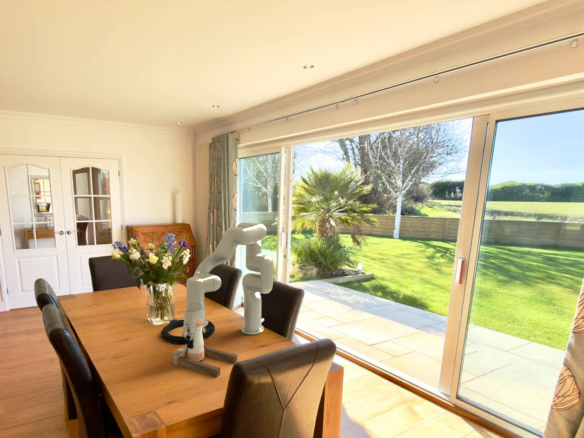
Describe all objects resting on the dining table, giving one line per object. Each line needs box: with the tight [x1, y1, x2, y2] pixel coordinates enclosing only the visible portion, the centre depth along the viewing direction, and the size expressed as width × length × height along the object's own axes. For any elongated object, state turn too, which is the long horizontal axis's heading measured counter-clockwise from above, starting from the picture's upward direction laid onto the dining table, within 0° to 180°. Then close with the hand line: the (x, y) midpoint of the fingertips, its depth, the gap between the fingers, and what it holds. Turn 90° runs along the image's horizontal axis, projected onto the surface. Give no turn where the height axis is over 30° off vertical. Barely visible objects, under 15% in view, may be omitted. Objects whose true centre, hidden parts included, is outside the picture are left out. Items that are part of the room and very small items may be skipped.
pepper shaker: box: [187, 319, 205, 362], centre depth 141 cm, size 7×7×19 cm
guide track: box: [172, 344, 238, 378], centre depth 139 cm, size 14×24×5 cm, turn 65°
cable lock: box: [160, 318, 216, 345], centre depth 171 cm, size 28×4×30 cm
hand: (195, 344), depth 142 cm, fingers closed on pepper shaker, 6 cm apart
